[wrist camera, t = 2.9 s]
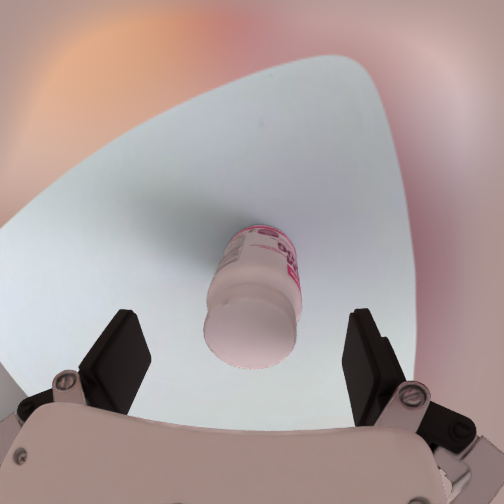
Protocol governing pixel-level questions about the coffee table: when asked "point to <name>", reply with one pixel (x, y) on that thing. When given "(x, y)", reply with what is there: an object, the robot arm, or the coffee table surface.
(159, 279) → the coffee table surface
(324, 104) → the coffee table surface
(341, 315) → the coffee table surface
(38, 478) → the robot arm
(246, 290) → the pill bottle
